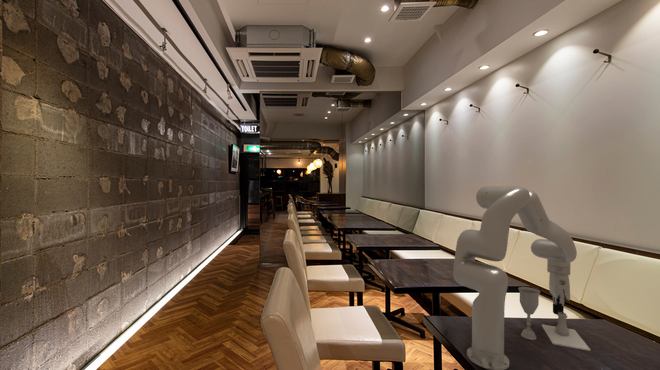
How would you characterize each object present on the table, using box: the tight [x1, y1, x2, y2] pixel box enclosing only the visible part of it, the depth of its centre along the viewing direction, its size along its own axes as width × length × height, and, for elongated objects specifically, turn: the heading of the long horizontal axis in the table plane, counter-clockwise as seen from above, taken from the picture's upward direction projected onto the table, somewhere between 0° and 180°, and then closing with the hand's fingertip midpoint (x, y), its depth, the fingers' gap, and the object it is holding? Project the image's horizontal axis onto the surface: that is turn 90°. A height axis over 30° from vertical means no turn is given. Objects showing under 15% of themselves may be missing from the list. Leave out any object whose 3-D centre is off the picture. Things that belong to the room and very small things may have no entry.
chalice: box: [517, 286, 541, 341], centre depth 115 cm, size 7×7×18 cm
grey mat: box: [541, 323, 591, 352], centre depth 115 cm, size 16×11×1 cm
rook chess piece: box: [555, 312, 569, 336], centre depth 117 cm, size 4×4×8 cm
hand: (558, 313), depth 122 cm, fingers closed
